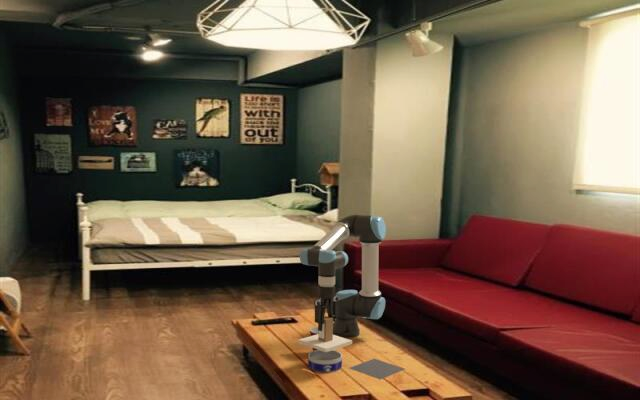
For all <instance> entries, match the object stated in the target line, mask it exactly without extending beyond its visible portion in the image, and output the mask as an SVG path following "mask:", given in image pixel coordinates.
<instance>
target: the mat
mask: <svg viewBox="0 0 640 400" xmlns="http://www.w3.org/2000/svg"><path fill="white" fill-rule="evenodd" d="M349 369H350V370H353V371H355V372H358V373H361V374H365V375H367V376H370V377H372V378H375V379H378V380H383V379H385V378H387V377H390V376H392V375H394V374H397V373H400V372H402V371H404V370H406V368H404V367H401V366H398V365H395V364H392V363H389V362H385V361H383V360H380V359H377V358H372V359H369V360H366V361H363V362H361V363H359V364H356V365H353V366H351V367H349Z"/></svg>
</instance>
